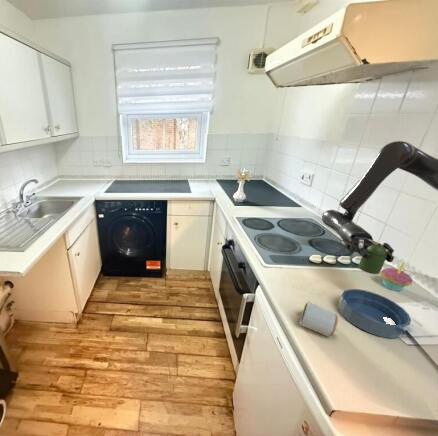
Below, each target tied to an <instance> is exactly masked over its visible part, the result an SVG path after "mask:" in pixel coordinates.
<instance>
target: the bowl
mask: <svg viewBox="0 0 438 436" xmlns="http://www.w3.org/2000/svg"><path fill="white" fill-rule="evenodd" d="M337 309H338V311H339V312H340V314H341V315H342V317H343V318H345V319H346V320H347V321H348V322H349V323H351V324H352V325H354V326H355V327H357V328H359V329H361V330H363V331H364V332H367V333H369V334H373V335H375V336H378V337H382V338H387V339H399V338H400V337H402V336H404V335H405V333H406V332H407V330H408V328H409V326H410V324H411V322H412V318H411V316H410V313H408V312H407V311H406V310H405V309H404V307H402V306H401V305H399V304H398V303H397V302H395V301H393V300H391V299H390V298H388V297H385V296H383V295H381V294H378V293H376V292H373V291H369V290H365V289H359V288H349V289H345V290H344V291H343V292H342V293H341V295H340V298H339V300H338V303H337ZM383 317H387V318H391V319H392V320H393V321H394V322H395V324H396V325H390V324H386V322H385V321H384V319H383Z"/></svg>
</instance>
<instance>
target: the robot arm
mask: <svg viewBox="0 0 438 436" xmlns="http://www.w3.org/2000/svg"><path fill="white" fill-rule="evenodd" d="M397 169H399V170H402V171H403V172H405V173H409V174H411V175H413V176H415V177H417V178H418V179H420V180H421V181H423V182H424V183H426V184H427V185H428V186H429V187H430V188H433V190H435V191H437V192H438V158H437V157H433V156H432V155H430V154H428V153H426V152H425V151H423V150H421V149H419V148H418V147H416V146H415V145H413V144H412V143H411V142H407V141H403V140H395V141H392V142H389V143H387V144H385V145H384V146H382V147H381V149H380V150H379V151H378V154H377V155H376V157H375V159H374V160H373V162H372V163H371V165H370V167H368V169H367V170H366V171H365V173H364V174H363V175H362V177H361V178H360V179H359V180H358V181H357V182H356V183H355V184H354V185H353V186H352V187H351V189H349V191H348V192H347V193H346V194H345V195H344V196H343V197H342V198H341V200H340V201H339V203H338V205H339V206H340V207H341V208H342V209H344V210H345V211H344V212H340V211H338V210H336V209H328V210H325V211H324V212H323V213H322V215H321V221H322V223H323V224H324V225H325V226H327V227H328V228H330V229H331V230H333V231H335V232H336V234H338V235H339V237H340V238H341V242H340V246H342V247H343V248H344V249H346V250H347V251H348V252H350V253H356V254H358V255H360V256H361V258H362V257H363V258H364V259H369V257H370V253H369V252H368V251H366V250H365V249H367V247H368V246H370V245H373V244H378V243H379V242H378V241H376V240H374V238H373V236H372V235H371V234H370V233H369V232H368V231H367V230H365V228H363V227H362V226H360V225H359V224H357V223H356V222H354V218H355V217H356V214H357V212H358V211H359V209H360V208H361V207H362V206H363V205H364V204H365V203H366V202H367V201H368V200H369V199H370V198H371V197H372V195H373V194H374V193H375V191H376V190H377V189H378V188H379V187H380V185H381V184H382V183H383V182H384V181H385V180H386V179H387V178H388V177H389V176H390V175H391V174H392V173H393V172H395V171H396V170H397ZM380 244H381V246H383V247H384V248H385V249H386V251H387V258H386V260H385V262H388V263H393V261H394V259H395V256H394V255H393V253H394V252H395V249H393V247H392V246H391V245H390V244H389V243H387V242H383V244H382V243H380Z"/></svg>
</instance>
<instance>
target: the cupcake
mask: <svg viewBox="0 0 438 436" xmlns="http://www.w3.org/2000/svg"><path fill="white" fill-rule="evenodd" d="M405 264H406V262H403V263H401V265H400V266H399V268H394V267H387V268H383V269H381V271H380V273H379V275H380V276H381V277H382V280H383V281H382V282H383V283H382V284H383V286H384V287H386V288H387V289H389V290H392V291H396V292H399V291H401V290H402V289H403V288H405V287H408V286H411V285H412V283H413V279H412V277H411V275H410V274H408V273H407V272H405V271H403V268H404V266H405Z"/></svg>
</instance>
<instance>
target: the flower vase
mask: <svg viewBox="0 0 438 436" xmlns="http://www.w3.org/2000/svg"><path fill="white" fill-rule="evenodd" d="M233 177H234V179H237V182H236V183H237V184H239V185H238V189H237V190H236V192H234V194H233V196H232V197H233V199H234V201H235V202H237V203H243V202H244V200H246V199H247V195H246V193H245V192H244V185H245V184H246V180H247V181H248V182H250V180H253V172H252V171H251V169H249V168H248V169H247V167H243V170H242V169H240V168H237V171H235V173H234V176H233Z"/></svg>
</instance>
